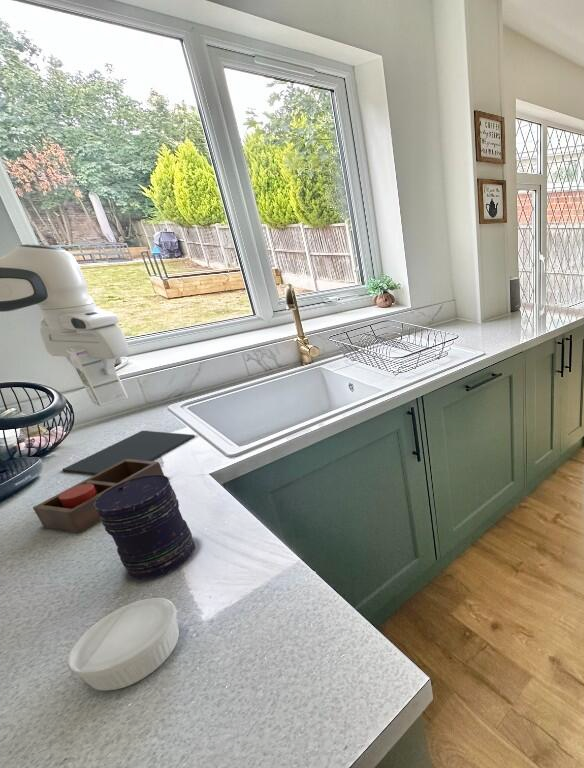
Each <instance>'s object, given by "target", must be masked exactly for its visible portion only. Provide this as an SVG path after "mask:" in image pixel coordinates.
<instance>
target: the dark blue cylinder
mask: <svg viewBox="0 0 584 768" xmlns="http://www.w3.org/2000/svg"><path fill="white" fill-rule="evenodd" d="M94 506H95V508H96V510H97V511H98V514H99V516H100V521H101V524H102V526H103V527H104V530H105V531H106V533H107V534H108V535H110V536H111V538H112V539H113V541H114V544H115V545H116V552H117V555H118V556H119V559H120V561H121V563H122V566H123V567H124V568H125V569H126V571H127V573H128V576H129V577H130V578H131V579H132V580H135V581H149V580H154V579H157V578H159V577H162V576H165V575H168V574H170V573H172V572H174V571H175V570H177V569H179V568H180V567H182V566H183V565H184V564H185V563H186V562H187V561H189V560H190V559H191V557H192V556H194V553H195V551H196V543H195V541H194V540H193V539H194V538H193V534H192V532H191V529H190V527H189V525H188V523H187V521H186V520H185V519H184V517H183V516H182V513H181V510H180V504H179V500H178V499H177V494H176V492H175V490H174V489H173V487H172V485H171V481H170V480H169V477H167V476H166V475H164V476H163V475H147V476H142V477H138V478H134V479H131V480H128V481H125V482H123V483H120V484H118V485H116V486H114V487H112V488H110V489H108V490H107V491H105V492H104V493H103V494H101V495H100V496H99V497H98V498H97V499H96V501H95V503H94Z"/></svg>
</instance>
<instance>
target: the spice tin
mask: <svg viewBox="0 0 584 768" xmlns="http://www.w3.org/2000/svg"><path fill="white" fill-rule="evenodd" d="M74 486H75V485H74ZM71 487H72V488H71ZM71 487H69V488H70V489H69V488H67V489H68V490H67V489H65V490H66V491H65V490H63V491H64V492H63V491H62V493H61V492H60V493H61V494H60V493H59V494H60V495H59V499H60V501H61V503H62V505H63V507H64V508H69V509H73V508H74V507H76V506H78V505H80V504H82V503H83V502H85V501H87V500H89V499H90V498H92V497H94V496H96V495H97V494H98V493H97V491H96V489H95V487H94V485H93V484H82V485H78V486H75V487H73V486H71Z"/></svg>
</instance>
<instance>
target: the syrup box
mask: <svg viewBox="0 0 584 768" xmlns="http://www.w3.org/2000/svg"><path fill="white" fill-rule="evenodd" d="M66 350H67V352H68V354H69V357H70V359H71V361H72V363H73V365H74V366H73V365H72V366H73V367H74V369H75V371H76V372H77V374H78V376H79V379H80V381H81V382H82V384H83V386H84V389H85V391H86V393H87V394H88V396H89V398H90V400H91V402H92V403H93V404H96V405H97V406H99V407H103V406H107V405H111V404H114V403H117V402H121V401H124V400H127V399H129V396H128V394H127V391H126V390H125V387H124V384H123V383H122V381H121V379H120V376H119V374H118V373H117V371H116V374H113V375H104V374H103V371H102V368H104V362H101V360H100V358H90V357H89V356H88V355H87V353H86V350H85V349H84V348H66Z"/></svg>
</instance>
